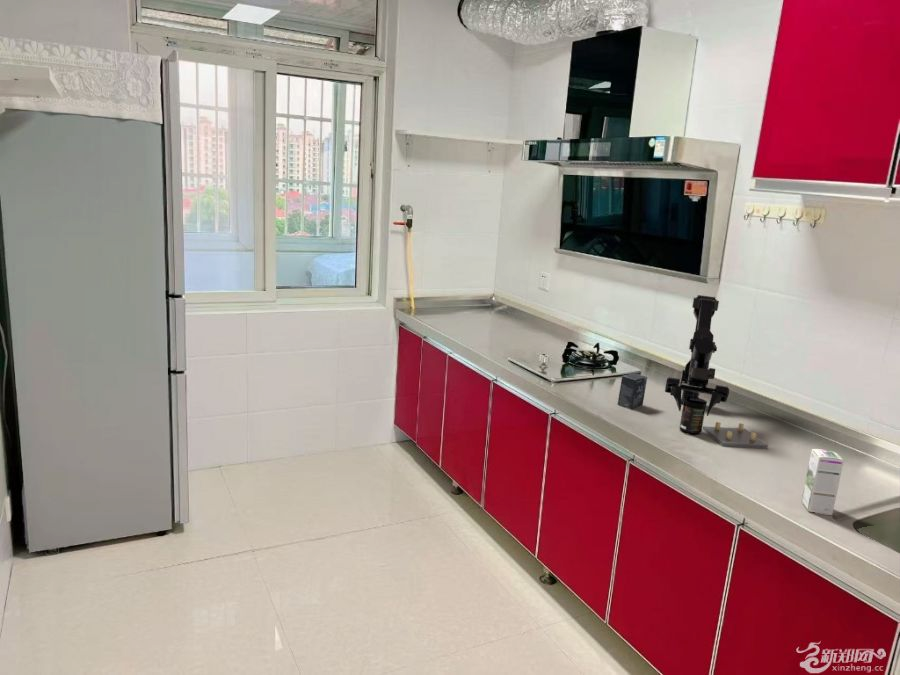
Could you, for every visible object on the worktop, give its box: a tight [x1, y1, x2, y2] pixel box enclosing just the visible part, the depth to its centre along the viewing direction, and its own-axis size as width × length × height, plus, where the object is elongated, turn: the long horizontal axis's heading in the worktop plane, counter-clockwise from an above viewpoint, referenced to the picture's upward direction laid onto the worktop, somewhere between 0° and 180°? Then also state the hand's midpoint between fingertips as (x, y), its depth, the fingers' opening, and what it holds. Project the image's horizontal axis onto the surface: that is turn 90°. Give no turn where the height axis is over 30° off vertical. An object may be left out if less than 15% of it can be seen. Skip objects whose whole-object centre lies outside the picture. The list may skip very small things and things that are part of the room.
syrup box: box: [801, 448, 845, 516], centre depth 168 cm, size 6×6×14 cm
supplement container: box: [679, 397, 708, 436], centre depth 216 cm, size 7×7×10 cm
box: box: [617, 372, 648, 410], centre depth 238 cm, size 8×6×11 cm
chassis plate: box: [702, 421, 768, 449], centre depth 214 cm, size 14×14×4 cm
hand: (693, 412), depth 215 cm, fingers open, 8 cm apart
